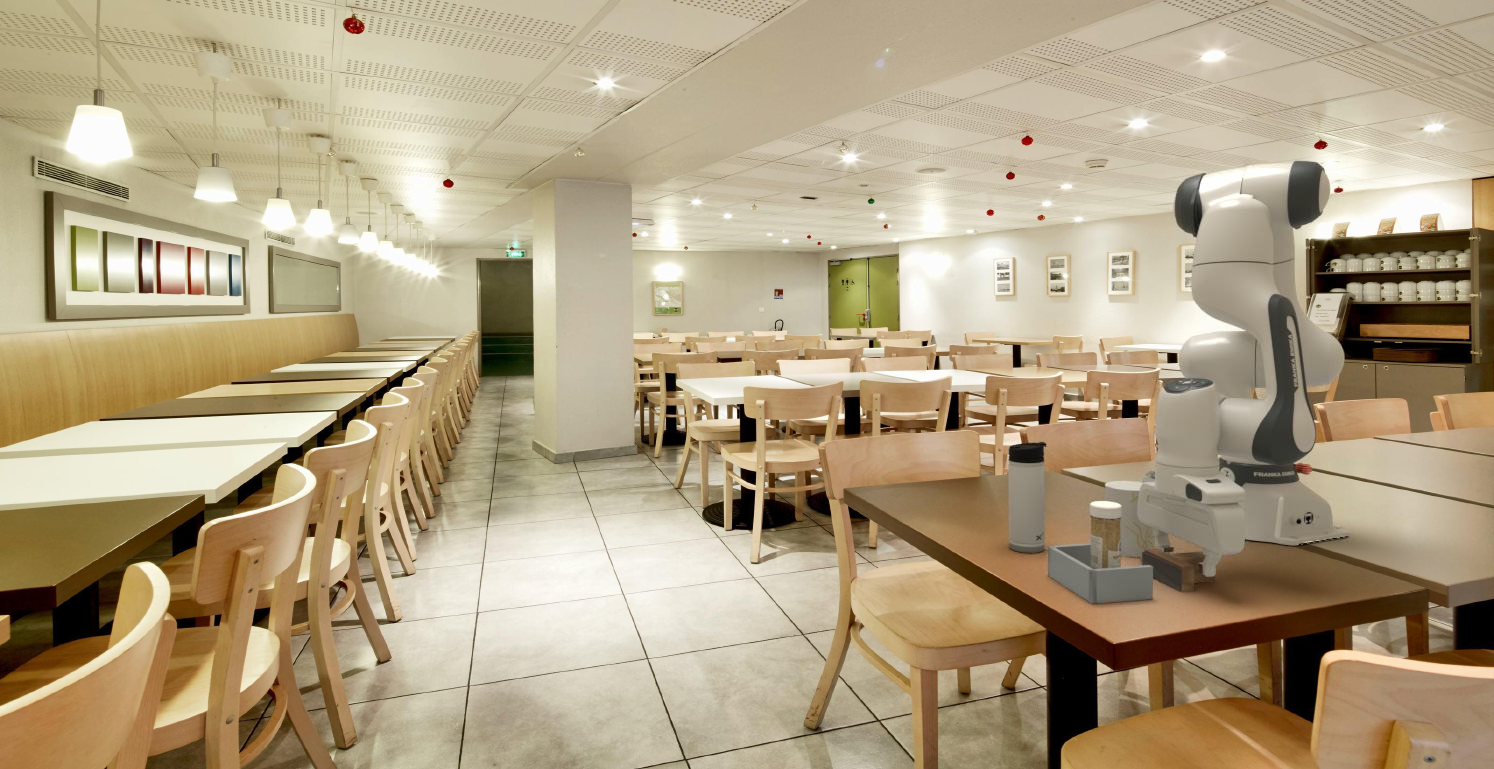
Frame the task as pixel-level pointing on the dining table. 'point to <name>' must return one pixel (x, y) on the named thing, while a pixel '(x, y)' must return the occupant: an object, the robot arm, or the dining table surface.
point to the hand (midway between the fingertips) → (1185, 565)
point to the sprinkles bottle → (1105, 534)
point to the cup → (1130, 518)
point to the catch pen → (1098, 576)
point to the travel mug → (1027, 497)
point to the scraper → (1176, 568)
